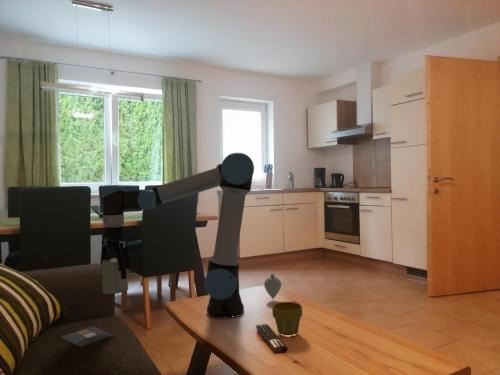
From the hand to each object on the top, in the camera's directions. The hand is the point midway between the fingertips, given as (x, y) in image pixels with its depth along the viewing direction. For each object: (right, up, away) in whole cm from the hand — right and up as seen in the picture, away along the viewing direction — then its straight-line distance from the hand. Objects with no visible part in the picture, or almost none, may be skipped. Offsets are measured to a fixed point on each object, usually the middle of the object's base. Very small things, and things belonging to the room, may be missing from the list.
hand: (115, 285), depth 142 cm
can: (0, -2, 0) cm, 2 cm away
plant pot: (+64, -14, -11) cm, 67 cm away
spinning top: (+61, -14, +27) cm, 68 cm away
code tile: (-7, -15, -10) cm, 19 cm away
